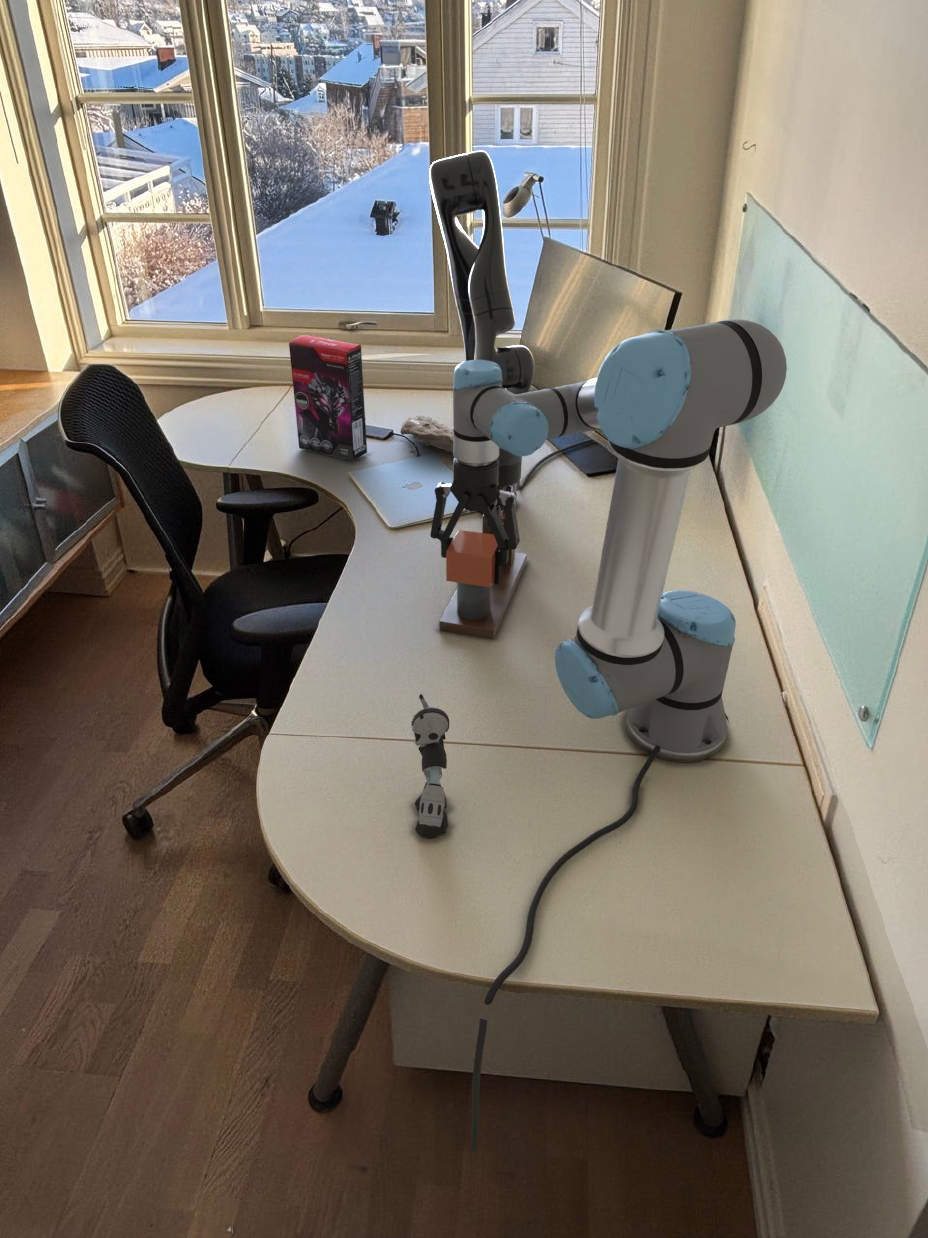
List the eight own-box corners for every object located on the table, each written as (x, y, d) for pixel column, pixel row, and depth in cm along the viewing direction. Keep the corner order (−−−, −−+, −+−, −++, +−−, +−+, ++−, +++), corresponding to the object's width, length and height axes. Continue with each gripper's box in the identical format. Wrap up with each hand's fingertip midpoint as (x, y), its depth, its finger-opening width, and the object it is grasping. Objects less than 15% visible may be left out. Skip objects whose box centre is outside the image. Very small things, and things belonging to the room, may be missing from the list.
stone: (384, 439, 228) (389, 416, 226) (404, 431, 242) (409, 408, 239) (464, 464, 225) (469, 440, 222) (479, 454, 238) (485, 431, 236)
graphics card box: (296, 449, 231) (285, 340, 216) (313, 439, 236) (303, 333, 221) (353, 463, 224) (346, 352, 209) (369, 453, 229) (363, 343, 214)
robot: (452, 871, 119) (452, 756, 108) (414, 872, 119) (410, 757, 108) (447, 767, 136) (446, 657, 124) (413, 768, 135) (410, 658, 124)
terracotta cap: (490, 587, 159) (491, 557, 155) (446, 581, 160) (446, 551, 157) (501, 564, 165) (502, 535, 162) (458, 558, 167) (458, 529, 163)
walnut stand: (493, 639, 163) (495, 581, 157) (439, 630, 165) (438, 573, 159) (526, 562, 186) (529, 508, 179) (478, 555, 188) (479, 502, 181)
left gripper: (512, 473, 164) (509, 557, 173) (529, 443, 175) (525, 523, 184) (472, 468, 165) (470, 552, 175) (491, 438, 176) (488, 518, 186)
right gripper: (543, 455, 151) (536, 574, 164) (422, 441, 156) (424, 558, 168) (534, 474, 145) (527, 596, 158) (408, 459, 150) (411, 578, 162)
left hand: (498, 537), depth 180 cm, fingers closed on walnut stand, 3 cm apart
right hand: (474, 576), depth 163 cm, fingers closed on terracotta cap, 8 cm apart
